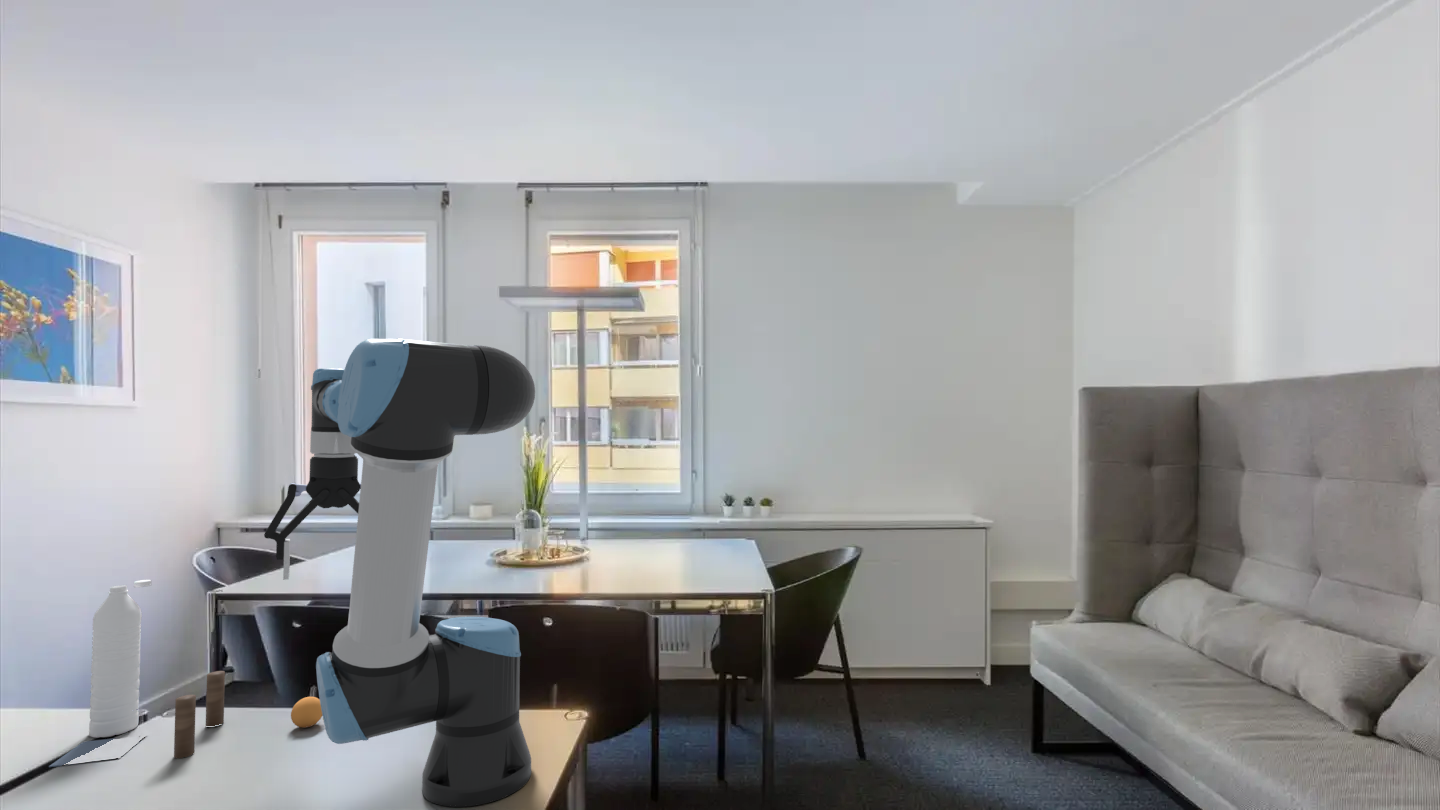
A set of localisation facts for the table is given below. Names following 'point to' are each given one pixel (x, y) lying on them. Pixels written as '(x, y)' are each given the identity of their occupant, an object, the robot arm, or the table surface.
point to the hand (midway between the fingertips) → (331, 574)
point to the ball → (306, 712)
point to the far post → (215, 698)
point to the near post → (184, 726)
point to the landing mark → (79, 751)
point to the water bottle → (116, 664)
